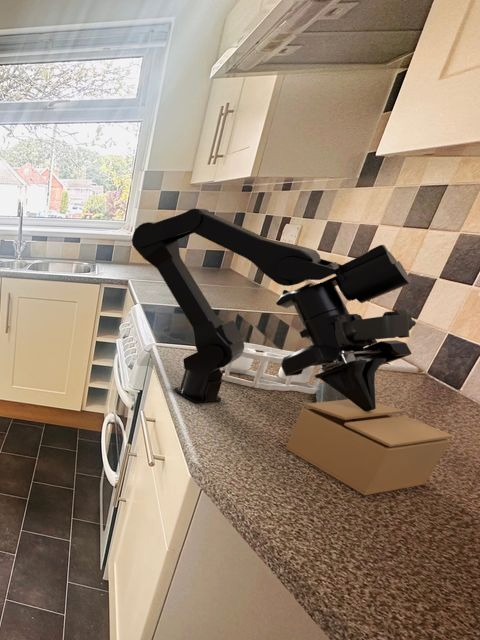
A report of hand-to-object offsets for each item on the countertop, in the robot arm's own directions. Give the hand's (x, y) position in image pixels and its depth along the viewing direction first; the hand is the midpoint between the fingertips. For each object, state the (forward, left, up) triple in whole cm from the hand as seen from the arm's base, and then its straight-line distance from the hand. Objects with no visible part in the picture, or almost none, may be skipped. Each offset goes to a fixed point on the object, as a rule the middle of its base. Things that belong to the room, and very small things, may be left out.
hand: (370, 410), depth 62 cm
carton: (+1, 0, -9) cm, 9 cm away
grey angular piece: (-17, +21, -9) cm, 29 cm away
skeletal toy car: (-29, +15, -9) cm, 34 cm away
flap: (-2, 0, -1) cm, 2 cm away
